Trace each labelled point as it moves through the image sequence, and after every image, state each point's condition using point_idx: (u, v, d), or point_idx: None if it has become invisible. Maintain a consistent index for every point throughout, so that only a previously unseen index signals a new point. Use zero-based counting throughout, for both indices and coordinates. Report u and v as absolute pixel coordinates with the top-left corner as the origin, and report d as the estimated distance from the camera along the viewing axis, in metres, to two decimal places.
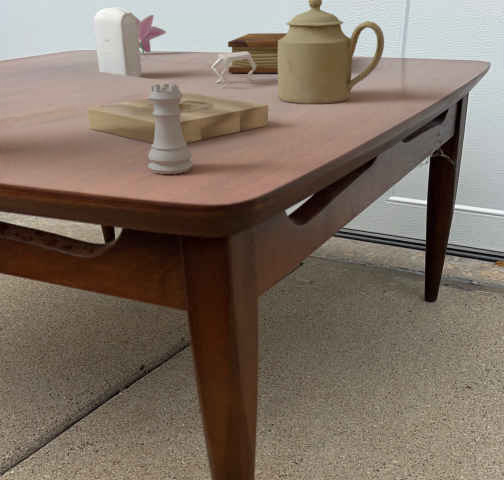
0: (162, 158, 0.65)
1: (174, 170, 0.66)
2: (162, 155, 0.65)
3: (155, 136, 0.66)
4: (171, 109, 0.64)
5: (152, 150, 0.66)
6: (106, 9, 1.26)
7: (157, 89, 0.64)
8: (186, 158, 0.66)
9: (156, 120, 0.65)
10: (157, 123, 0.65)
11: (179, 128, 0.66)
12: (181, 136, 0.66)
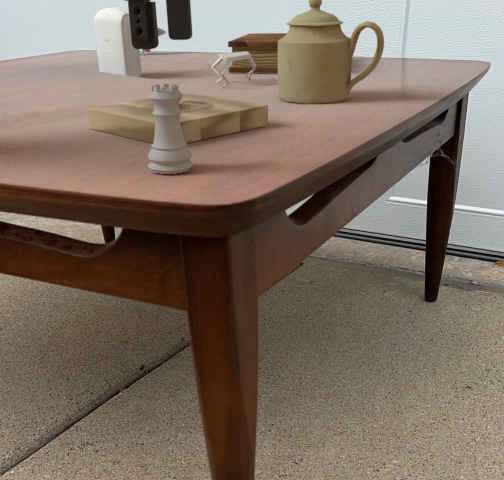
0: (162, 158, 0.65)
1: (174, 170, 0.66)
2: (162, 155, 0.65)
3: (155, 136, 0.66)
4: (171, 109, 0.64)
5: (152, 150, 0.66)
6: (106, 9, 1.26)
7: (157, 89, 0.64)
8: (186, 158, 0.66)
9: (156, 120, 0.65)
10: (157, 123, 0.65)
11: (179, 128, 0.66)
12: (181, 136, 0.66)
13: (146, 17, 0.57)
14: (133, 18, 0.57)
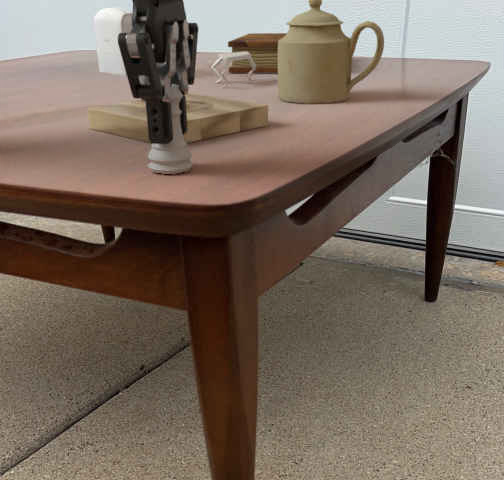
0: (162, 158, 0.65)
1: (174, 170, 0.66)
2: (162, 155, 0.65)
3: None
4: (171, 109, 0.64)
5: (152, 150, 0.66)
6: (106, 9, 1.26)
7: None
8: (186, 158, 0.66)
9: None
10: None
11: (179, 128, 0.66)
12: (181, 136, 0.66)
13: (162, 117, 0.63)
14: (150, 118, 0.63)
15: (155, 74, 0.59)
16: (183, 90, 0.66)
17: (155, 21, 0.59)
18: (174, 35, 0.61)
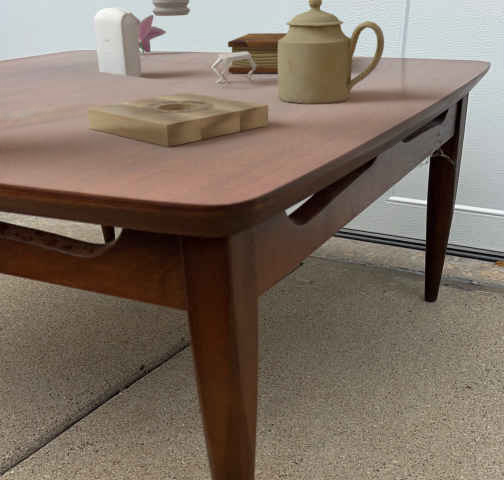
0: (164, 0, 0.78)
1: (174, 11, 0.78)
2: None
3: None
4: None
5: None
6: (106, 9, 1.26)
7: None
8: (184, 2, 0.78)
9: None
10: None
11: None
12: None
13: None
14: None
15: None
16: None
17: None
18: None
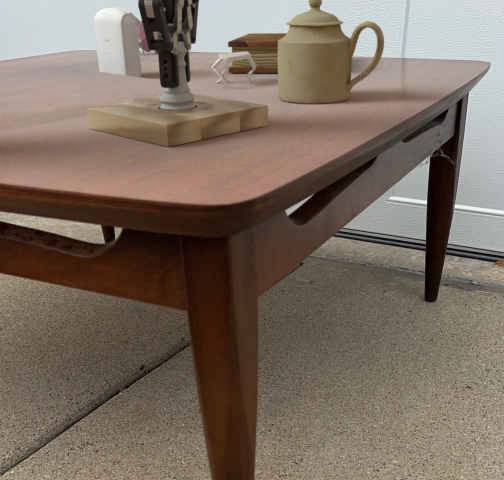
0: (171, 100, 0.84)
1: (180, 109, 0.84)
2: (171, 97, 0.84)
3: None
4: (178, 61, 0.83)
5: (163, 94, 0.85)
6: (106, 9, 1.26)
7: None
8: (190, 100, 0.84)
9: None
10: None
11: (184, 76, 0.84)
12: (186, 83, 0.84)
13: (171, 66, 0.81)
14: (162, 66, 0.81)
15: (166, 31, 0.78)
16: (187, 47, 0.84)
17: None
18: (180, 1, 0.79)
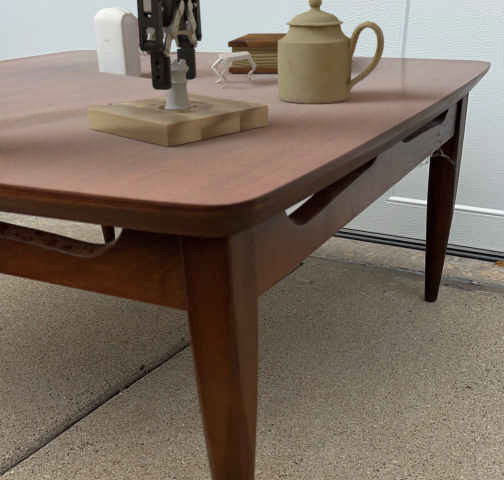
0: None
1: None
2: None
3: (167, 100, 0.85)
4: (180, 78, 0.84)
5: None
6: (106, 9, 1.26)
7: None
8: None
9: None
10: (168, 89, 0.84)
11: (186, 93, 0.85)
12: (187, 100, 0.85)
13: (163, 68, 0.79)
14: (154, 68, 0.79)
15: (160, 29, 0.76)
16: (193, 44, 0.86)
17: None
18: (181, 10, 0.79)
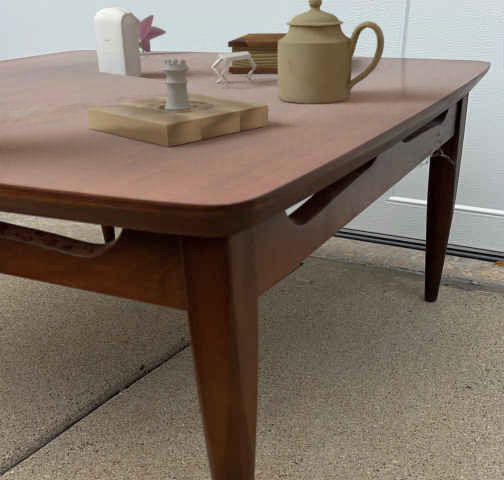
0: None
1: None
2: None
3: (167, 100, 0.85)
4: (180, 78, 0.84)
5: None
6: (106, 9, 1.26)
7: (169, 63, 0.83)
8: None
9: (168, 87, 0.84)
10: (168, 89, 0.84)
11: (186, 93, 0.85)
12: (187, 100, 0.85)
13: None
14: None
15: None
16: None
17: None
18: None
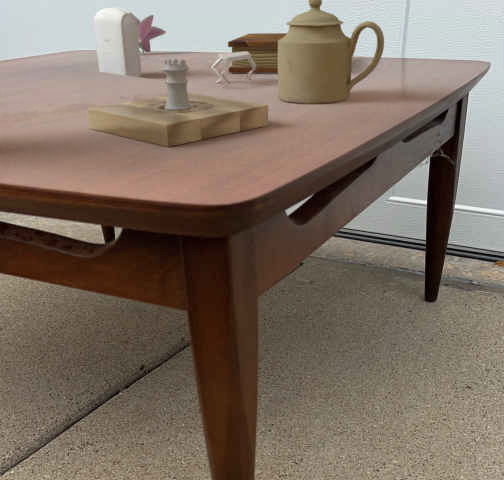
0: None
1: None
2: None
3: (167, 100, 0.85)
4: (180, 78, 0.84)
5: None
6: (106, 9, 1.26)
7: (169, 63, 0.83)
8: None
9: (168, 87, 0.84)
10: (168, 89, 0.84)
11: (186, 93, 0.85)
12: (187, 100, 0.85)
13: None
14: None
15: None
16: None
17: None
18: None
